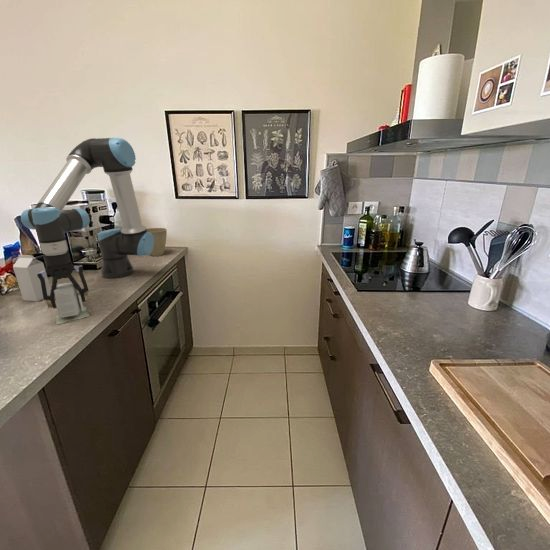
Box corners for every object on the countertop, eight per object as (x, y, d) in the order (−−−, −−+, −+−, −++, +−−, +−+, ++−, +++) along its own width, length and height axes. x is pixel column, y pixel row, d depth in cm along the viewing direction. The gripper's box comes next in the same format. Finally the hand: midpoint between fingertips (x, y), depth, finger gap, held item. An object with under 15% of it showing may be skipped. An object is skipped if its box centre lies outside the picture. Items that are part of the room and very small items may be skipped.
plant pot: (161, 258, 184) (157, 232, 179) (139, 257, 188) (135, 231, 182) (174, 252, 198) (171, 228, 193) (154, 250, 201) (150, 227, 196)
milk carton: (37, 301, 125) (24, 258, 119) (23, 300, 126) (9, 257, 120) (52, 295, 132) (40, 253, 125) (39, 294, 133) (26, 252, 126)
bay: (88, 298, 128) (86, 289, 127) (95, 315, 113) (93, 305, 112) (48, 307, 120) (45, 297, 119) (50, 326, 105) (47, 316, 104)
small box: (65, 309, 115) (58, 283, 112) (82, 307, 117) (75, 281, 114) (60, 318, 108) (53, 290, 105) (78, 315, 110) (71, 288, 107)
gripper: (20, 260, 96) (39, 324, 104) (89, 250, 107) (102, 308, 115) (20, 255, 102) (39, 316, 110) (86, 246, 113) (99, 302, 121)
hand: (71, 312), depth 112 cm, fingers closed on small box, 6 cm apart
